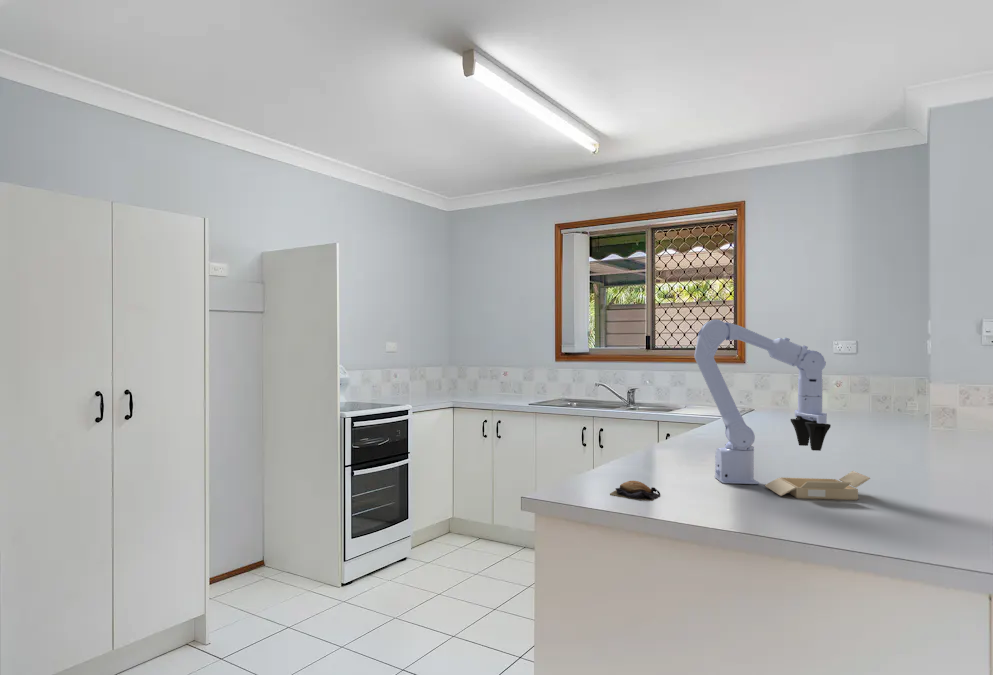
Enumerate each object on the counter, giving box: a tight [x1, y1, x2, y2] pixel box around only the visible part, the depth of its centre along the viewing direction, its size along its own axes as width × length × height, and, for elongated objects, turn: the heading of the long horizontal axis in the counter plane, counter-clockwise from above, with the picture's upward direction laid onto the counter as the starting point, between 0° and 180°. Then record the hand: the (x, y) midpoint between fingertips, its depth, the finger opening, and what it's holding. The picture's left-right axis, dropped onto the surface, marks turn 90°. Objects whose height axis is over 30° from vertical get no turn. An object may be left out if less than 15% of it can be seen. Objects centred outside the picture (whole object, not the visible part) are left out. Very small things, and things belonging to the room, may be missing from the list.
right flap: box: [838, 470, 871, 488], centre depth 151 cm, size 4×8×1 cm
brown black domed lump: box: [609, 480, 661, 502], centre depth 147 cm, size 11×8×4 cm
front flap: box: [801, 481, 851, 489], centre depth 144 cm, size 10×4×1 cm
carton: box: [764, 477, 859, 501], centre depth 153 cm, size 18×15×3 cm
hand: (809, 447), depth 160 cm, fingers open, 7 cm apart
